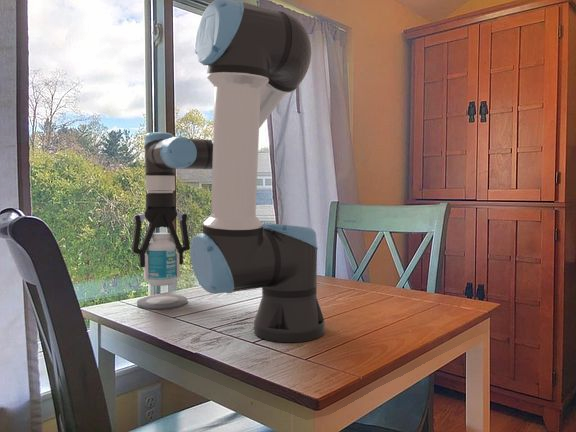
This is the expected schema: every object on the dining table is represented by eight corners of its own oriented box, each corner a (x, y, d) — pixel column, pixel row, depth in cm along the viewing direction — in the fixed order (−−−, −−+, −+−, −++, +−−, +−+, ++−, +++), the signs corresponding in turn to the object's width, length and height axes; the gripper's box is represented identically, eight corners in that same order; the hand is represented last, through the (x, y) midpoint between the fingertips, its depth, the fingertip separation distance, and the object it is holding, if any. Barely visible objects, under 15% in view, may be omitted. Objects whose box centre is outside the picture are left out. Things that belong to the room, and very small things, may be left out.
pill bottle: (172, 286, 124) (171, 235, 123) (143, 286, 125) (142, 234, 124) (179, 281, 132) (178, 232, 131) (152, 280, 132) (151, 232, 131)
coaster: (192, 305, 125) (192, 302, 125) (141, 311, 120) (141, 308, 120) (180, 295, 137) (180, 292, 137) (133, 300, 131) (133, 297, 131)
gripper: (194, 191, 134) (195, 272, 136) (118, 192, 125) (120, 278, 127) (202, 192, 128) (202, 277, 129) (122, 192, 119) (124, 283, 120)
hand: (161, 277), depth 128 cm, fingers closed on pill bottle, 7 cm apart
